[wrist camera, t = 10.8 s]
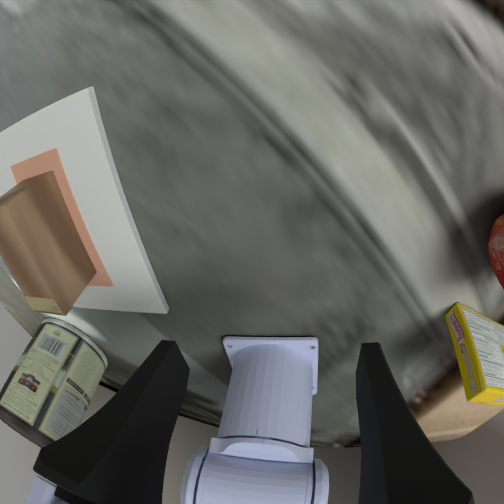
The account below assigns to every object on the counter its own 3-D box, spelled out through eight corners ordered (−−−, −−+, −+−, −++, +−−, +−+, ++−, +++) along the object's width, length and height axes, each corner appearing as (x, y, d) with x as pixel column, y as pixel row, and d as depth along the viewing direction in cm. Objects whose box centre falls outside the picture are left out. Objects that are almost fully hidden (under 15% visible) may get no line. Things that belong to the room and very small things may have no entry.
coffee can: (72, 365, 37) (33, 444, 26) (30, 315, 31) (-23, 400, 20) (123, 374, 34) (84, 469, 23) (78, 318, 29) (17, 426, 18)
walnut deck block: (53, 170, 18) (4, 205, 14) (96, 271, 23) (65, 316, 19) (22, 180, 18) (-22, 214, 14) (65, 271, 24) (34, 312, 20)
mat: (169, 308, 25) (166, 314, 24) (57, 301, 28) (54, 305, 27) (93, 86, 15) (86, 88, 14) (-16, 143, 18) (-22, 146, 17)
